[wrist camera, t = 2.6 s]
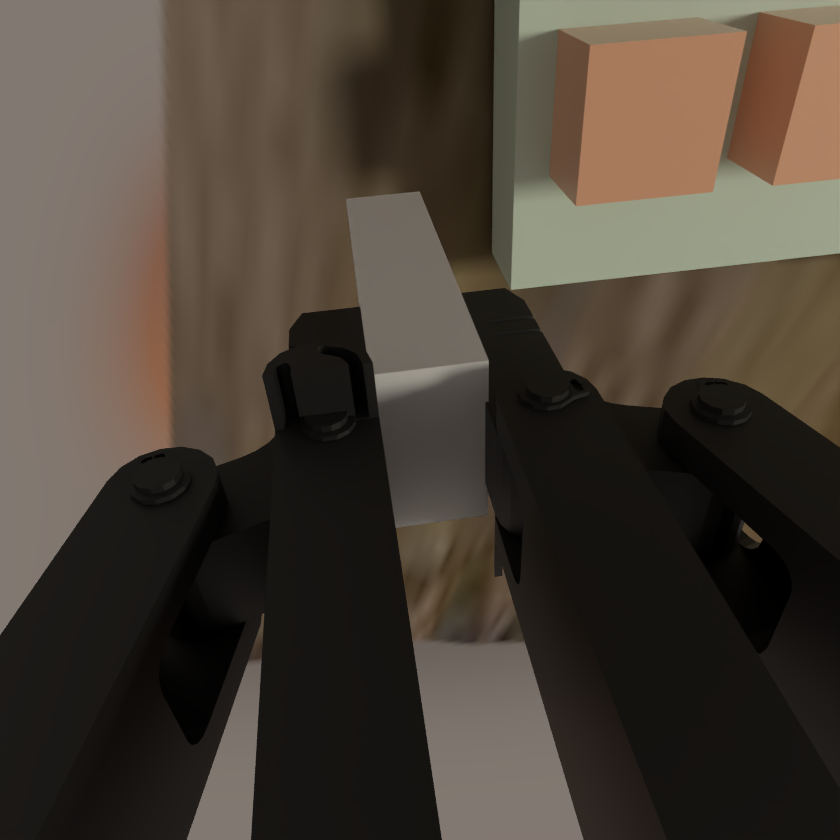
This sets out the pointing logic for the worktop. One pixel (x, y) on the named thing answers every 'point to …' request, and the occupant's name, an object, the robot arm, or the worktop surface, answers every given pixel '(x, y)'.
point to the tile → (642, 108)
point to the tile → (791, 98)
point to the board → (637, 219)
